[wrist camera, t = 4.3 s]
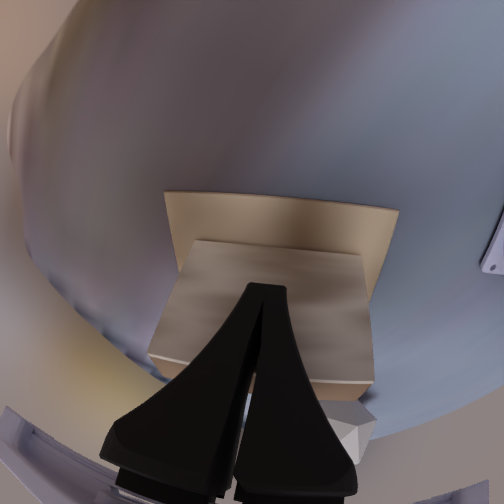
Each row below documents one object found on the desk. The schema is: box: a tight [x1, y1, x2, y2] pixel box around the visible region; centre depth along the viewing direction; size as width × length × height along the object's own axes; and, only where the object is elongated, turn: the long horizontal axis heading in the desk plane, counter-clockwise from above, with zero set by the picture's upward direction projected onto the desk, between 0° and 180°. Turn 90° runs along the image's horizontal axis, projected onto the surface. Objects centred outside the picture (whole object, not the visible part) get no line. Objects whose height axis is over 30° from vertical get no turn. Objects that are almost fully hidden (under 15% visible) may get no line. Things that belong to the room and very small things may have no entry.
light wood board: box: [164, 191, 399, 303], centre depth 18 cm, size 12×16×1 cm
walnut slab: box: [147, 240, 375, 401], centre depth 13 cm, size 9×2×7 cm, turn 90°
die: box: [318, 399, 377, 464], centre depth 23 cm, size 8×9×10 cm
